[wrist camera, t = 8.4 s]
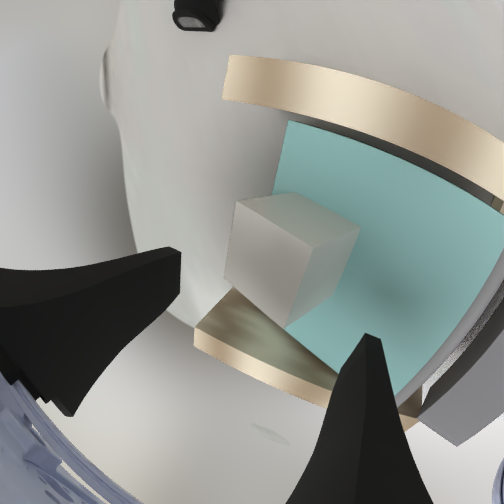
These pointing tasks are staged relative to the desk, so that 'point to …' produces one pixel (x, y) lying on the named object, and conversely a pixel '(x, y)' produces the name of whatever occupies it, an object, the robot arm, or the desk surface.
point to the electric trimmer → (195, 15)
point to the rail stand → (364, 120)
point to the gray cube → (287, 254)
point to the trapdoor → (406, 275)
